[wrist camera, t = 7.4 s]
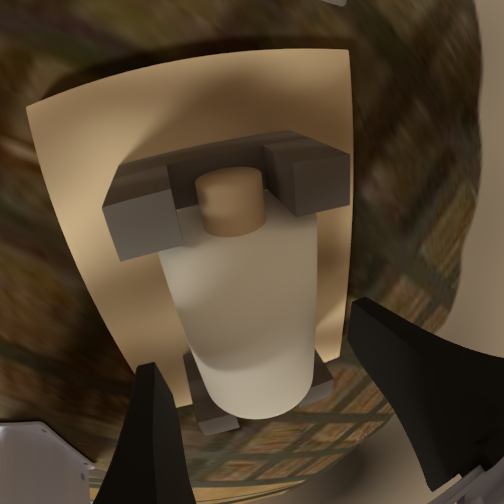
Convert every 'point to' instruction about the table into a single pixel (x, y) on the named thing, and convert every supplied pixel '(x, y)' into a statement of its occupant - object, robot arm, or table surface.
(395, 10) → the table surface
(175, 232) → the roll holder
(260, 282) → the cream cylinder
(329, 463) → the table surface
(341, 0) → the key chain
